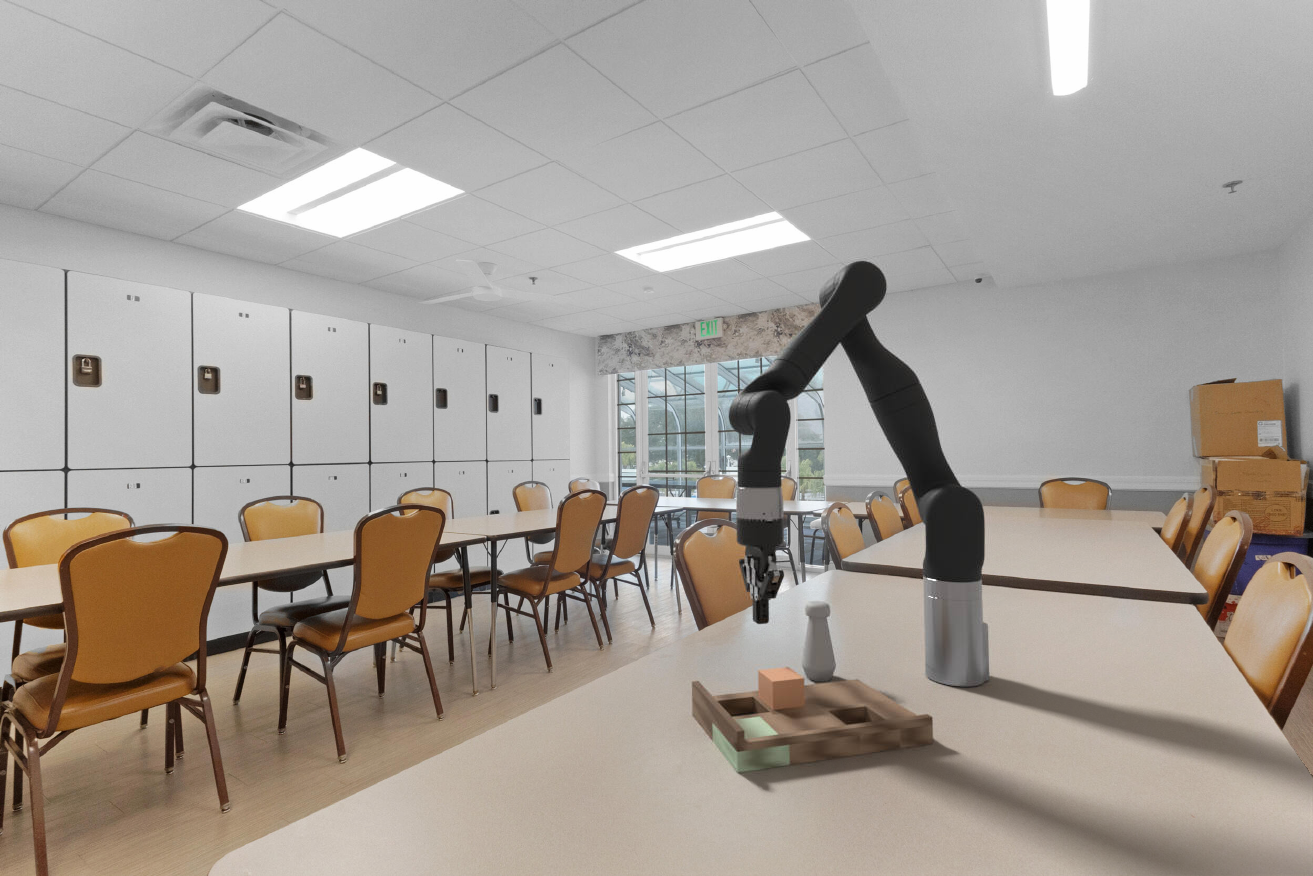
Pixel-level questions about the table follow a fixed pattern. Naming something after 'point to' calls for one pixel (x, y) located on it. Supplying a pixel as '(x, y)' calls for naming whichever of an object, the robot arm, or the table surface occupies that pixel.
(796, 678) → the terracotta block
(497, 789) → the table surface
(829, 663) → the salt shaker
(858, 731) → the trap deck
